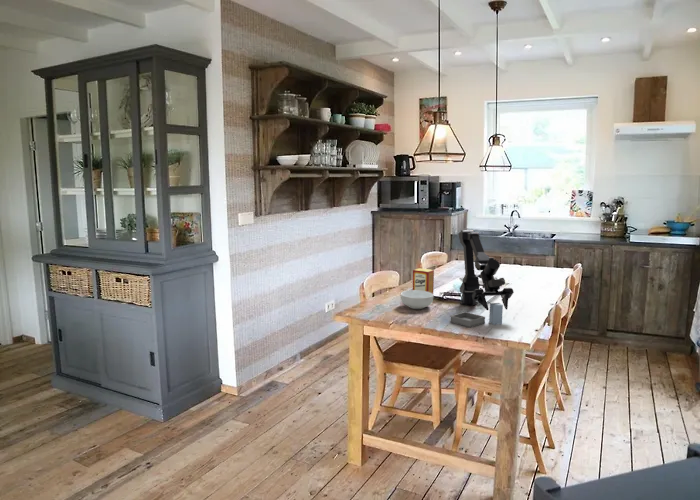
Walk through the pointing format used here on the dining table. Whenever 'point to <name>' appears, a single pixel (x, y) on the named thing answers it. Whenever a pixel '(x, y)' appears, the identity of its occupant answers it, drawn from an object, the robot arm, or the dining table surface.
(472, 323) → the tray
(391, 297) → the dining table surface
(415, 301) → the cereal bowl
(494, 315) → the slate block
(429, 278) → the baking soda box
